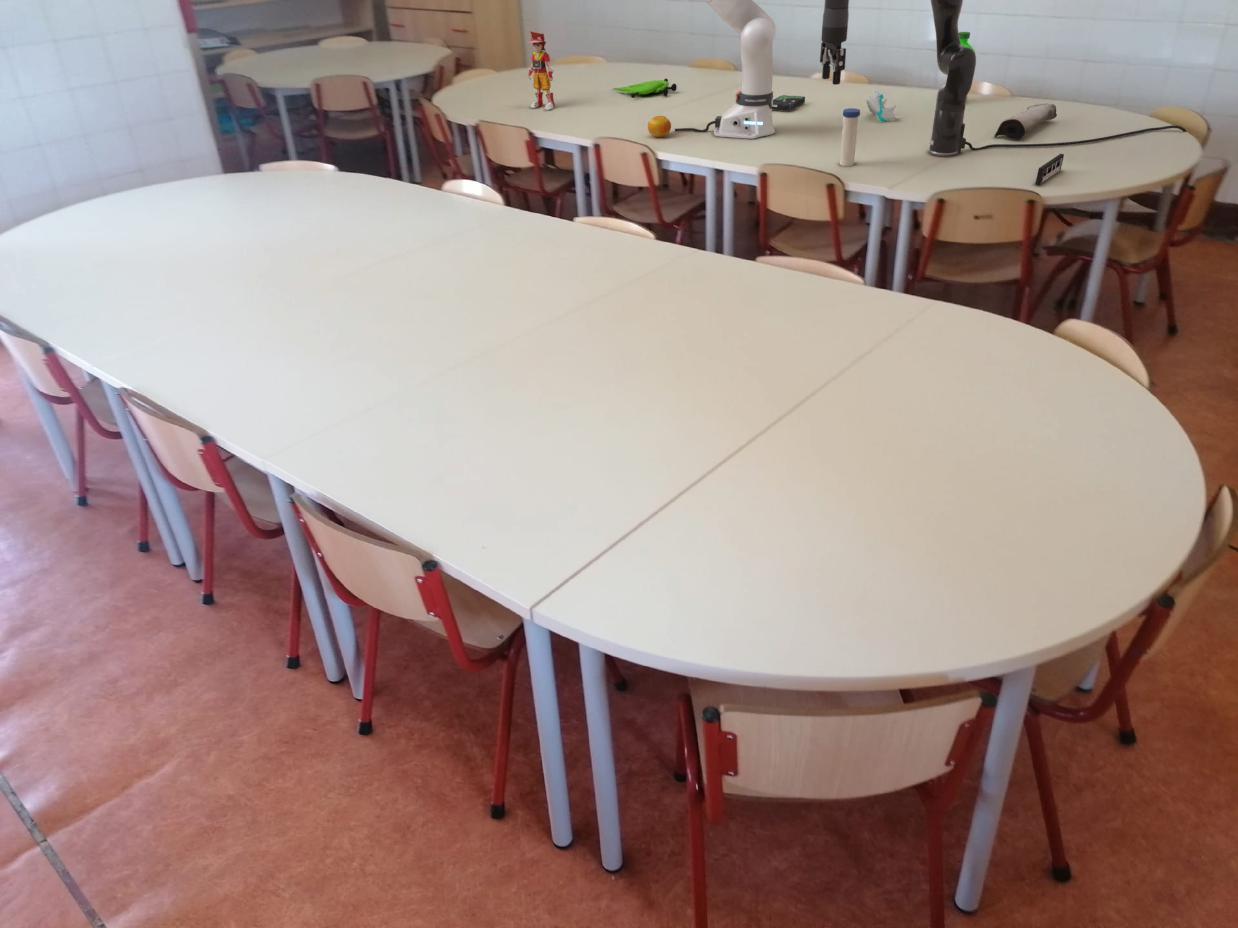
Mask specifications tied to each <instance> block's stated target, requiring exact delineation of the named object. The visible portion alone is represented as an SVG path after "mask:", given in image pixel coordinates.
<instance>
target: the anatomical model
mask: <svg viewBox="0 0 1238 928" xmlns="http://www.w3.org/2000/svg"><path fill="white" fill-rule="evenodd" d="M865 101H866V104H867V108H868V110H869V112H870V113H872V114H876V115H877V118H878V119H879V121H880V122H881V123H884V122H888V121H892V120H893V121H894V120H895V121H898V120H900V119H901V116H900V115H895V113H894V111H895V109H896V108H897V105H893V106H890V107H885V104H886V103H887V101H888V99H887V98H886V99H884V94H883V93H881V92H880V91H878V90H876V91H875V92H874V94H873V95H872V96H869V97H867V98H866V100H865Z"/></svg>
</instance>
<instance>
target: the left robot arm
mask: <svg viewBox="0 0 1238 928" xmlns="http://www.w3.org/2000/svg"><path fill="white" fill-rule="evenodd" d="M705 2H706V3H707V4H708V5H709V7H711V9H712V10H713V11H714V12H715V13H716V14H717V15H718V16H719V17H720V18H721V19H722V21H723V22H724V23H726V24H727V25H729V26H730V27H731V28H732V29H733V30H735V31H736V32H737V33H738V34H739V35H740V58H741V62H740V63H741V90H737V91H736V92H735V103H734V104H733V105H732V106H730V107H729V108H727V110H726V111H724V113H722V114H721V115H717V116H716V117H715V119H714V120H712V121H710V122H708V123H707V124H706V127H705V128H704V129H699V128H693V127H680V128H674V132H697V133H706V132H708V131H709V129H710V126H711V125H714V130H713V135H714V136H715V137H721V138H722V137H723V138H736V139H737V138H738V139H750V140H753V139H754V140H755V139H758V138H761V137H766V136H770V135H773V134H774V133H775V132H776V131H775V127H774V120H773V110H772V106H773V100H774V91H773V77H774V76H773V75H774V67H773V66H774V64H773V63H774V61H773V45H774V44H773V43H774V39H775V37H776V35H777V34H776V33H777V27H776V23H775V21H774V19H773V17H771V16H770V15H769V14H768V13H767V12H766V11H765V10H764V9H763V8H762V7H761V6H759V4H758V3H756V2H755V1H754V0H705Z"/></svg>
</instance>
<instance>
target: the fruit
mask: <svg viewBox="0 0 1238 928" xmlns="http://www.w3.org/2000/svg"><path fill="white" fill-rule="evenodd" d="M671 129H672V122H671V121H670V119H669V118H668V117H666V116H665V115H657V116H654V117H652V118H650V119H649V121H648V123H647V130H648V131H647V132H648V133H649V134H650V135H651V136H653V137H655V138H662V137H667V136H668V135H669V133H670V132H671Z"/></svg>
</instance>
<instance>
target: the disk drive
mask: <svg viewBox="0 0 1238 928" xmlns="http://www.w3.org/2000/svg"><path fill="white" fill-rule="evenodd" d="M805 103H806V96H802V95H801V96H800V95H787V94H782V95H779V96H778V97H775V98H773V106H772V111H778V112H779V111H781V112H792V111H793V110H795V109H797V108H799V107H801V106H802V105H803V104H805Z"/></svg>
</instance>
